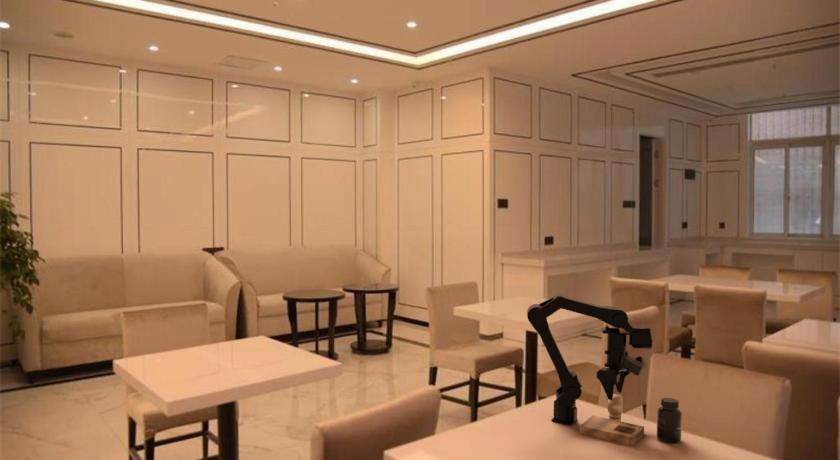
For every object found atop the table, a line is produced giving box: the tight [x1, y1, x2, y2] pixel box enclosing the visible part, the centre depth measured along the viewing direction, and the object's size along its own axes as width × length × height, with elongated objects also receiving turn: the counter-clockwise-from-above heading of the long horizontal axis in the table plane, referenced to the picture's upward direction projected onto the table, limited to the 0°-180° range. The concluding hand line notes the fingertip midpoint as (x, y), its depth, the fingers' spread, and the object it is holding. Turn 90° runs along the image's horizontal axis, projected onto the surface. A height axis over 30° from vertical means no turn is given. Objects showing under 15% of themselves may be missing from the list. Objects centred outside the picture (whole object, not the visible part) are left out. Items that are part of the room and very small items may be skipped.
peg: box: [607, 393, 624, 422], centre depth 189 cm, size 4×4×9 cm
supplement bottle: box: [656, 397, 683, 445], centre depth 177 cm, size 7×7×12 cm
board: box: [579, 415, 645, 447], centre depth 181 cm, size 16×11×2 cm
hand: (615, 396), depth 189 cm, fingers open, 9 cm apart
